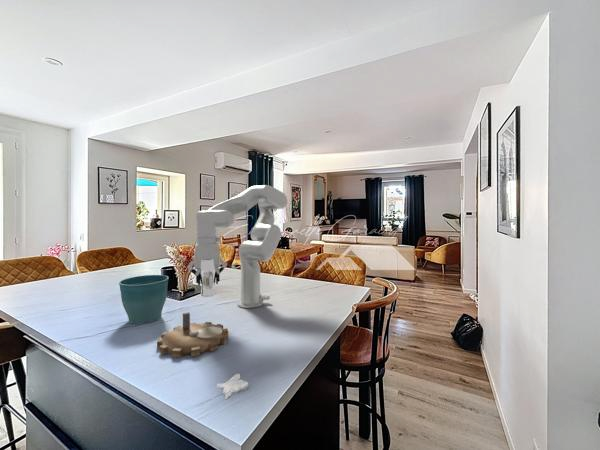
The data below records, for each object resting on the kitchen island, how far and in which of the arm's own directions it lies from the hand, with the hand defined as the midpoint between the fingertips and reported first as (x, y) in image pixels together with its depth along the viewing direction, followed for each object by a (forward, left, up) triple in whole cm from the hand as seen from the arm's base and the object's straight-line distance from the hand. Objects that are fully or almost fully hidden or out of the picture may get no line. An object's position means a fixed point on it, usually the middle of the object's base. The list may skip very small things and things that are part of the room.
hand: (208, 283), depth 112 cm
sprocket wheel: (+4, +18, -16) cm, 24 cm away
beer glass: (0, 0, -5) cm, 5 cm away
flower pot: (+26, -9, -16) cm, 32 cm away
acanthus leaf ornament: (-7, +48, -17) cm, 51 cm away
